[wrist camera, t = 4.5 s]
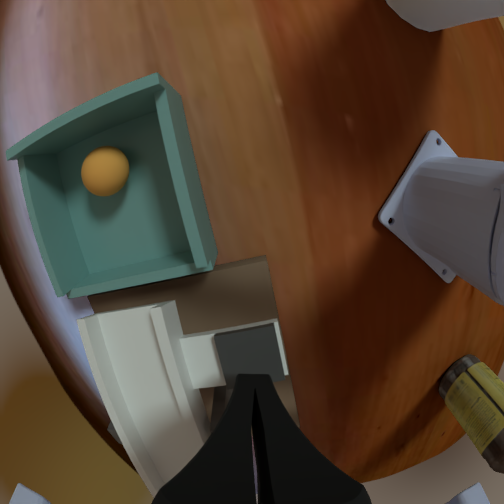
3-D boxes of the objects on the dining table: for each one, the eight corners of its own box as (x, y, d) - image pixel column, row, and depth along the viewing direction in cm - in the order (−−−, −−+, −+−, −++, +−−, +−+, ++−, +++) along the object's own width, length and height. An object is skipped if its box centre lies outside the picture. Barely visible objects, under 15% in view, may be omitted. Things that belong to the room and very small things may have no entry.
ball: (140, 184, 14) (132, 135, 14) (90, 195, 12) (83, 141, 12) (124, 195, 17) (117, 152, 16) (81, 205, 15) (74, 159, 14)
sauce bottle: (437, 401, 24) (505, 520, 5) (434, 374, 23) (521, 513, 4) (477, 372, 23) (554, 476, 5) (478, 340, 22) (577, 456, 3)
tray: (307, 474, 16) (314, 514, 12) (179, 484, 17) (165, 519, 12) (268, 278, 17) (270, 286, 12) (112, 307, 17) (72, 321, 12)
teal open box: (218, 252, 18) (208, 285, 13) (88, 281, 18) (53, 313, 14) (180, 95, 15) (157, 72, 10) (51, 149, 15) (5, 151, 10)
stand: (298, 419, 23) (311, 484, 16) (171, 433, 24) (159, 492, 17) (265, 255, 18) (279, 317, 11) (93, 290, 19) (38, 347, 11)
